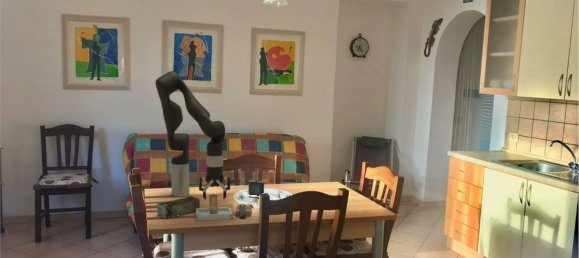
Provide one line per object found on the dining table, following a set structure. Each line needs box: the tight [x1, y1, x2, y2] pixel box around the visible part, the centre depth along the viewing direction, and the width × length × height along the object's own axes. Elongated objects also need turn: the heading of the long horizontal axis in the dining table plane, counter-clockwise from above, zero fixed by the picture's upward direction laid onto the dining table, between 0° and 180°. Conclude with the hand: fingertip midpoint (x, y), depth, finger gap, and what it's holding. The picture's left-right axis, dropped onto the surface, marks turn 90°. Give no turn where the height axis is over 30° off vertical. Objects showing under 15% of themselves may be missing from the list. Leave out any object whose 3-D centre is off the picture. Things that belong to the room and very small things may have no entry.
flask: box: [247, 177, 265, 196], centre depth 251 cm, size 9×3×11 cm, turn 65°
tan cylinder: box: [208, 193, 218, 214], centre depth 217 cm, size 4×4×9 cm
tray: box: [195, 206, 233, 221], centre depth 218 cm, size 11×16×2 cm
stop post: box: [238, 203, 247, 220], centre depth 216 cm, size 3×3×6 cm
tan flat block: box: [235, 204, 252, 218], centre depth 223 cm, size 10×7×3 cm
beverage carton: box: [156, 195, 201, 219], centre depth 221 cm, size 8×19×7 cm, turn 137°
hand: (214, 199), depth 217 cm, fingers open, 8 cm apart
